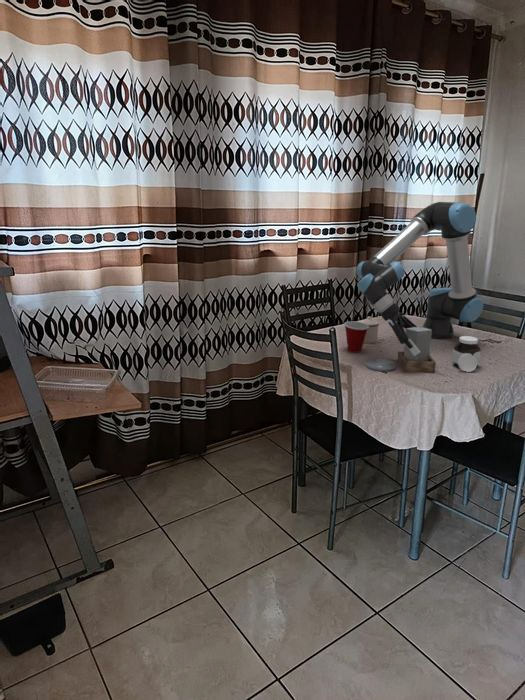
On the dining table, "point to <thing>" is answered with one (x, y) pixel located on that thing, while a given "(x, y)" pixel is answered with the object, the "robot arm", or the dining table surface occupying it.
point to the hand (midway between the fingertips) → (421, 349)
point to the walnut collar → (415, 364)
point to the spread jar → (466, 353)
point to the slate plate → (380, 364)
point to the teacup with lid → (371, 330)
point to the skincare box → (418, 343)
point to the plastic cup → (355, 335)
